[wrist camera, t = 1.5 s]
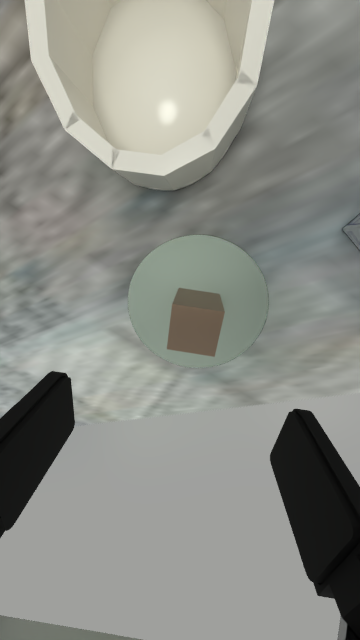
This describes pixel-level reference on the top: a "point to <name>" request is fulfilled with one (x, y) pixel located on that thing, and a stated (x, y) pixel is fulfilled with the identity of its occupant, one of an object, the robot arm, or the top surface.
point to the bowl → (151, 79)
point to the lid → (198, 301)
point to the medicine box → (354, 231)
